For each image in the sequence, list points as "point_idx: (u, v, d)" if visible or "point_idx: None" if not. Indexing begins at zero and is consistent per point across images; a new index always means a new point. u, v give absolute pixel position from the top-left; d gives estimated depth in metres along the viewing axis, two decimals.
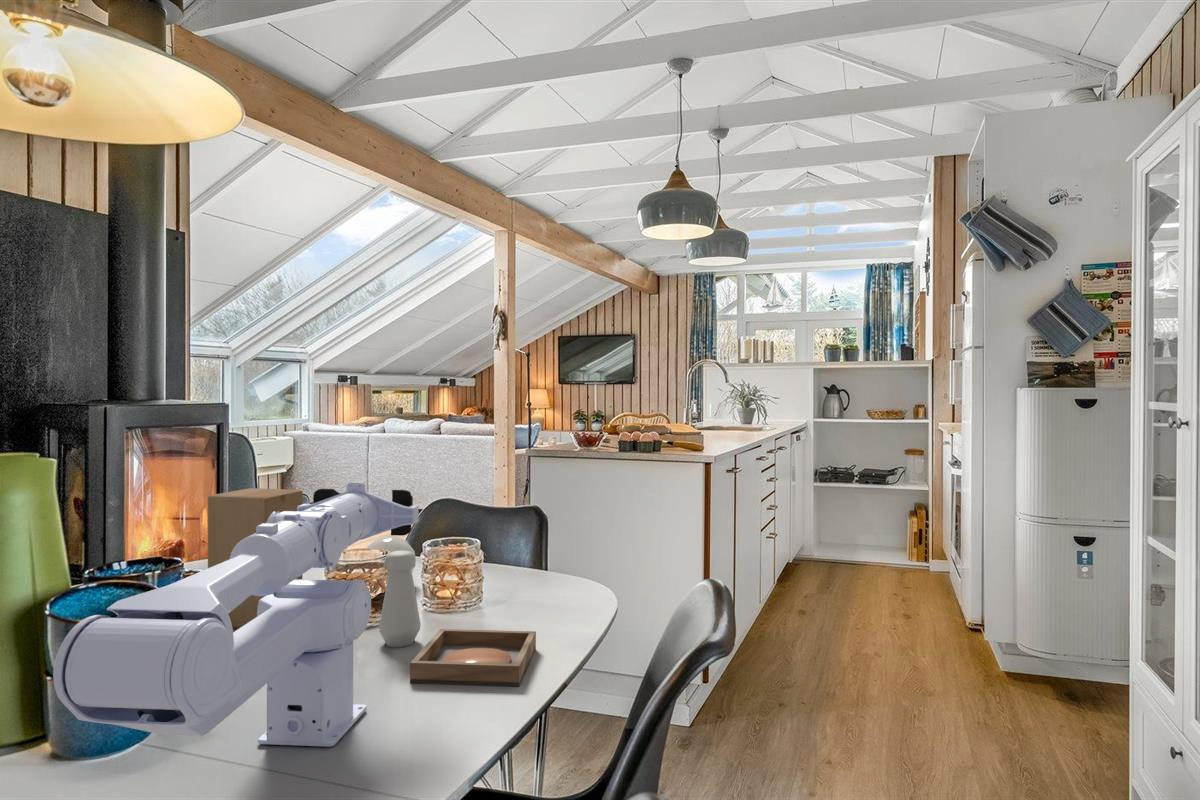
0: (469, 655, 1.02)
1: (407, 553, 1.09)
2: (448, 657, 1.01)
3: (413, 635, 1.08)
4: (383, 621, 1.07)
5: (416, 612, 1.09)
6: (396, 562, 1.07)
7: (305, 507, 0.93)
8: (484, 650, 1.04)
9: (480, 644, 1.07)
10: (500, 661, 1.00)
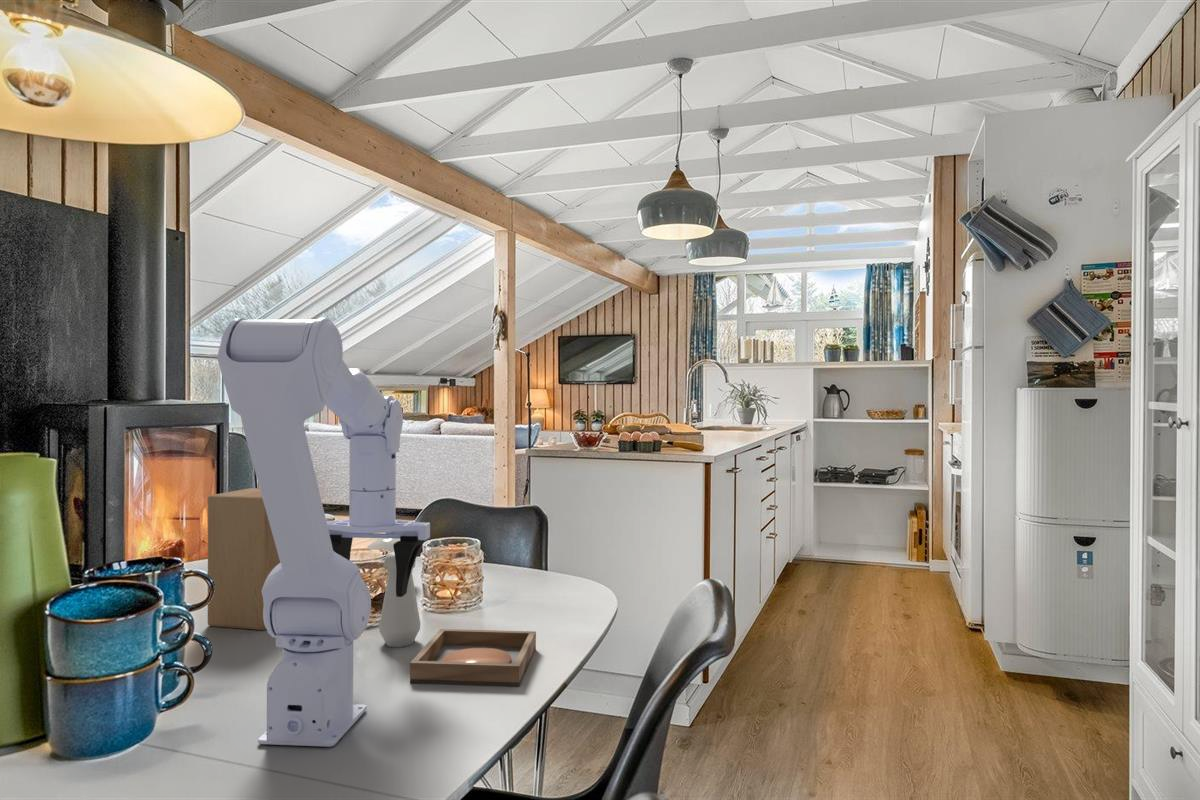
0: (469, 655, 1.02)
1: None
2: (448, 657, 1.01)
3: (413, 635, 1.08)
4: (383, 621, 1.07)
5: (416, 612, 1.09)
6: None
7: None
8: (484, 650, 1.04)
9: (480, 644, 1.07)
10: (500, 661, 1.00)
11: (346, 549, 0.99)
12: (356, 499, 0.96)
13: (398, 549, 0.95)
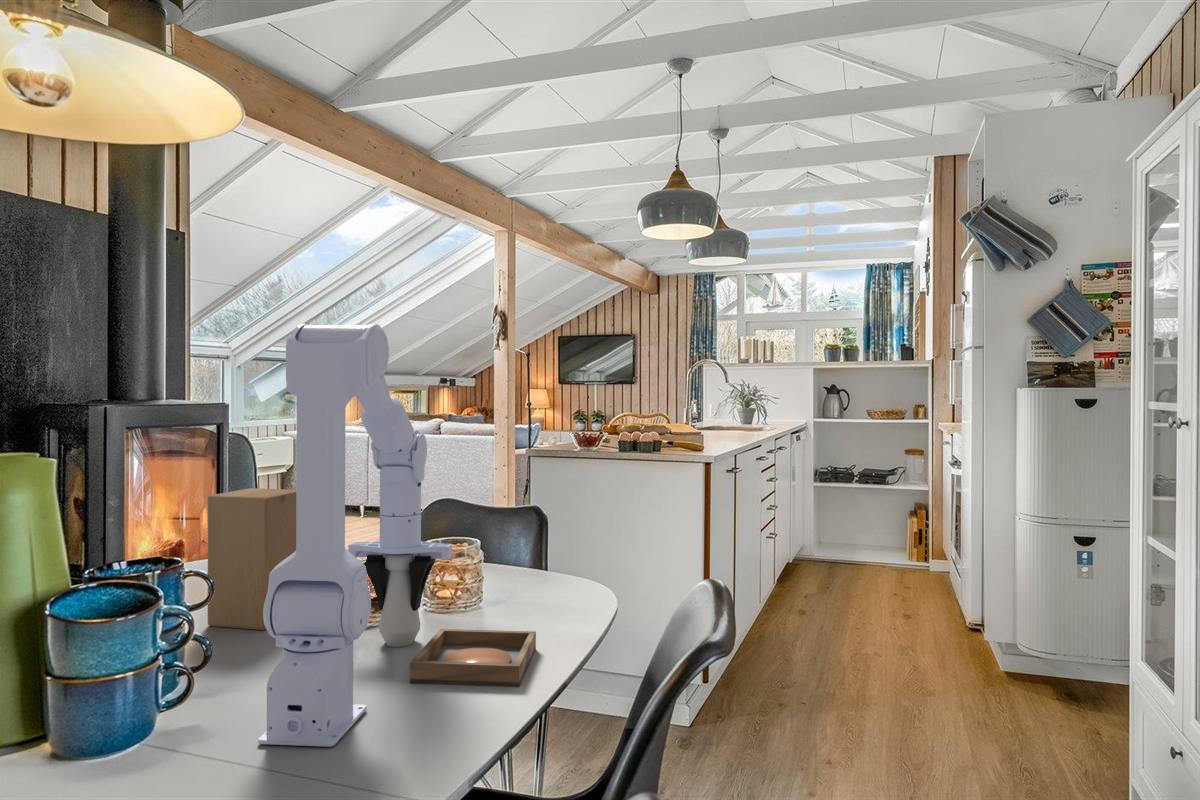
0: (469, 655, 1.02)
1: None
2: (448, 657, 1.01)
3: (413, 635, 1.08)
4: (383, 621, 1.07)
5: (416, 612, 1.09)
6: (396, 562, 1.07)
7: None
8: (484, 650, 1.04)
9: (480, 644, 1.07)
10: (500, 661, 1.00)
11: None
12: (386, 523, 1.07)
13: (413, 568, 1.06)
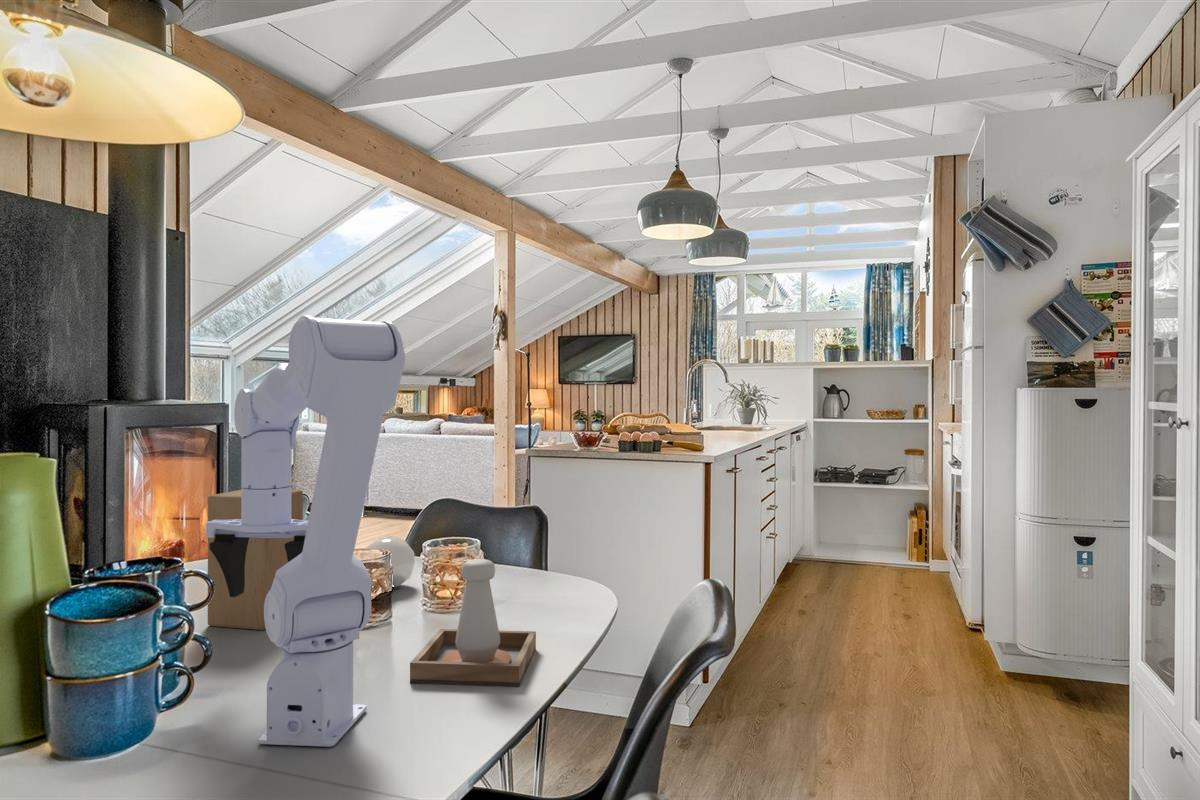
0: None
1: (487, 561, 1.00)
2: (448, 657, 1.01)
3: (495, 650, 0.99)
4: (463, 637, 0.98)
5: (496, 625, 1.00)
6: (477, 572, 0.98)
7: None
8: None
9: None
10: (500, 661, 1.00)
11: (240, 549, 0.96)
12: (247, 497, 0.92)
13: (290, 549, 0.92)
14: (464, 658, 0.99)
